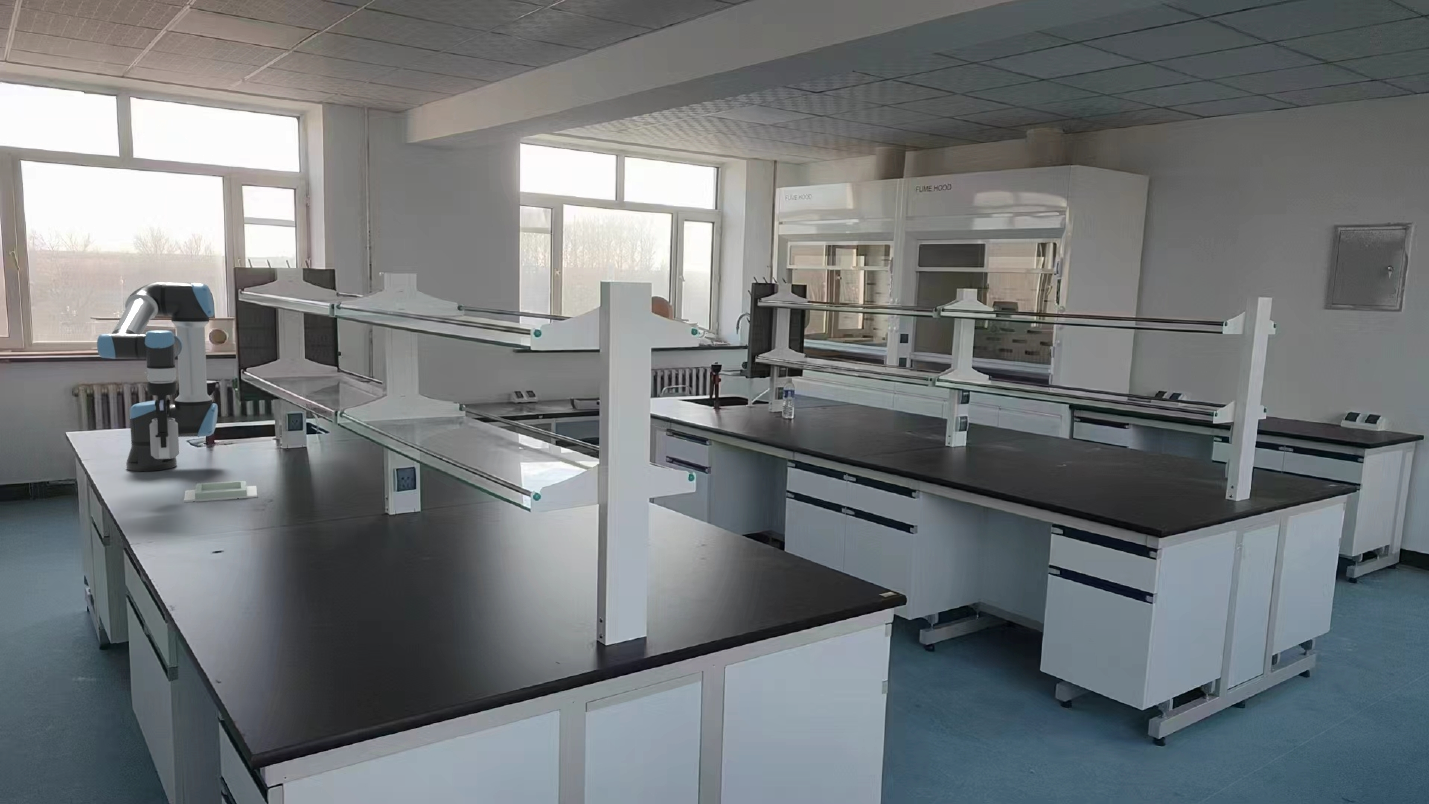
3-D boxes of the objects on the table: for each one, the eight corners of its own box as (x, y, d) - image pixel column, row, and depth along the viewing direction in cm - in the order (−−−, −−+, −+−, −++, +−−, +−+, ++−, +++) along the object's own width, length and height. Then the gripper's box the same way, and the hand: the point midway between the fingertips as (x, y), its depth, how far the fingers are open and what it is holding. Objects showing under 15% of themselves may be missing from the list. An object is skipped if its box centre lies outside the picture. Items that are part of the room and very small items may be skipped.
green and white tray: (185, 492, 295) (185, 484, 294) (256, 487, 304) (256, 480, 303) (183, 502, 282) (183, 494, 282) (257, 497, 291) (257, 489, 291)
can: (170, 460, 284) (168, 421, 282) (145, 459, 284) (143, 420, 282) (184, 455, 291) (182, 417, 289) (160, 454, 291) (158, 416, 289)
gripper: (149, 377, 291) (153, 449, 295) (144, 386, 273) (148, 462, 277) (177, 377, 295) (180, 448, 298) (174, 385, 277) (177, 461, 280)
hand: (165, 455), depth 287 cm, fingers closed on can, 7 cm apart
